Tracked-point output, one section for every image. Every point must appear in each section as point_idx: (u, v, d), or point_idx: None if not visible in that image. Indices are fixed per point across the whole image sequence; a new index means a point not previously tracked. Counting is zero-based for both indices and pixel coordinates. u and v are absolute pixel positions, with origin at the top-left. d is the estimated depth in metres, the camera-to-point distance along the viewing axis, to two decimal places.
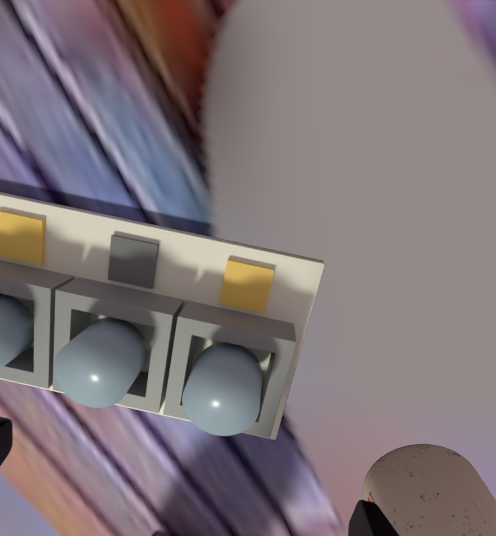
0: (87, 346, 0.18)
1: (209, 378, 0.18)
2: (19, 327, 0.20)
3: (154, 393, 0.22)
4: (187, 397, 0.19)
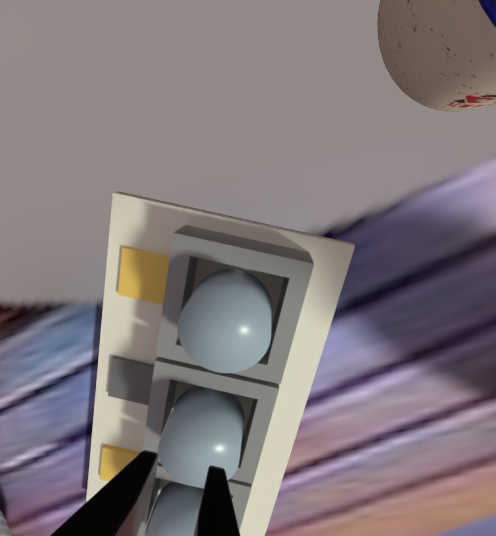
0: (164, 452, 0.18)
1: (190, 341, 0.16)
2: (177, 497, 0.21)
3: (252, 389, 0.19)
4: (218, 367, 0.16)
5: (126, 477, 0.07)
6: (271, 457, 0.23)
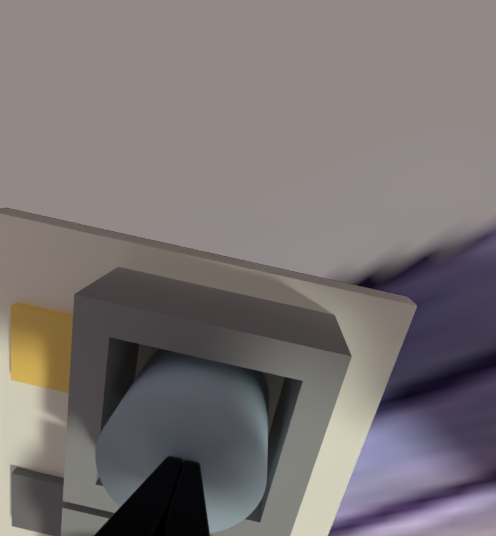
0: None
1: (120, 483, 0.09)
2: None
3: None
4: None
5: (154, 483, 0.07)
6: None
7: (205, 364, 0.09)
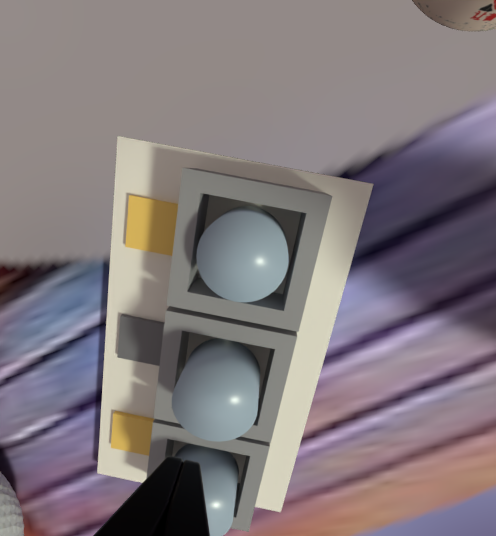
0: (178, 403, 0.17)
1: (209, 270, 0.16)
2: (192, 458, 0.20)
3: (268, 338, 0.18)
4: (236, 296, 0.16)
5: (154, 484, 0.07)
6: (288, 419, 0.22)
7: (252, 209, 0.17)
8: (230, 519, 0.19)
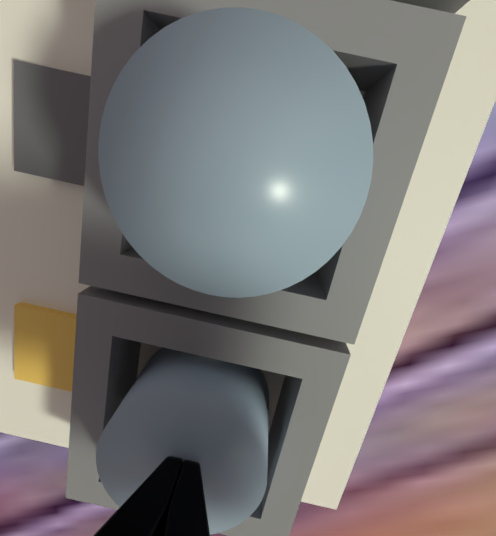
0: (119, 165, 0.05)
1: None
2: (178, 359, 0.10)
3: (383, 27, 0.07)
4: None
5: (154, 483, 0.07)
6: (372, 319, 0.11)
7: None
8: (260, 486, 0.08)
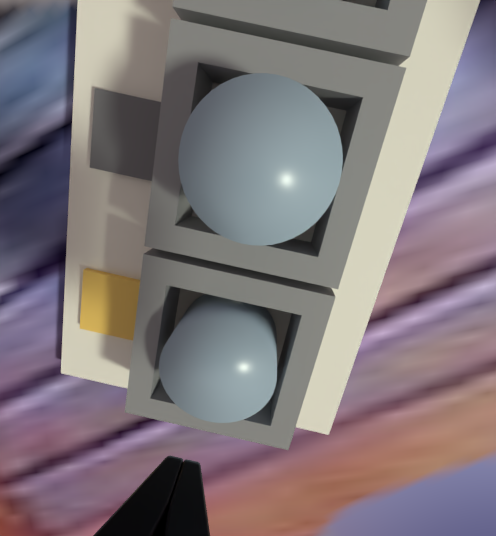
0: (191, 162, 0.09)
1: None
2: (212, 301, 0.13)
3: (353, 74, 0.10)
4: None
5: (154, 483, 0.07)
6: (354, 279, 0.14)
7: None
8: (272, 383, 0.12)
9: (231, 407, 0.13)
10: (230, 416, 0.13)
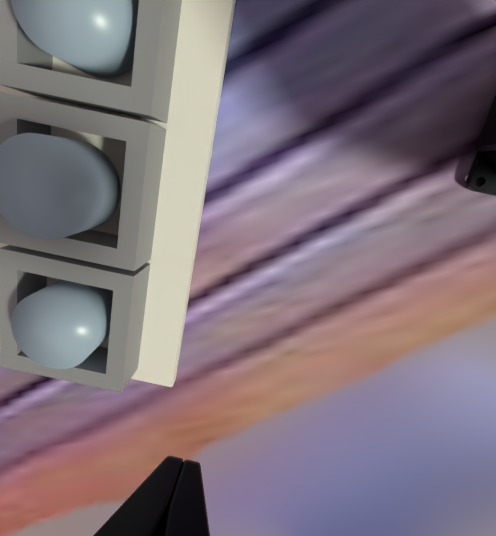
0: None
1: (26, 14, 0.13)
2: (58, 282, 0.19)
3: (117, 126, 0.15)
4: (63, 50, 0.14)
5: (154, 483, 0.07)
6: (170, 266, 0.20)
7: None
8: (90, 338, 0.17)
9: (66, 357, 0.18)
10: (66, 364, 0.18)
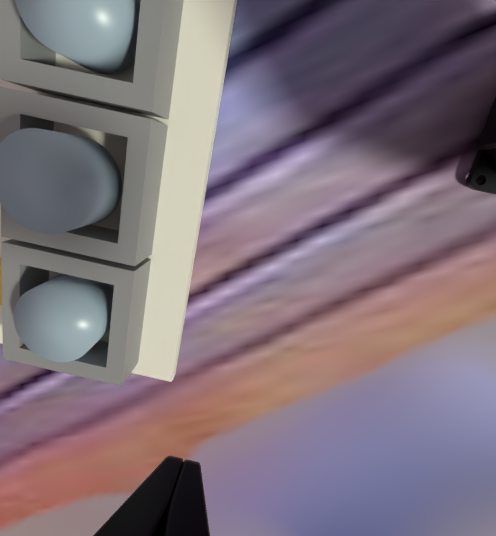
0: (0, 181, 0.14)
1: (30, 10, 0.14)
2: (59, 276, 0.19)
3: (119, 122, 0.15)
4: (65, 46, 0.14)
5: (154, 483, 0.07)
6: (171, 261, 0.20)
7: None
8: (91, 331, 0.18)
9: (67, 350, 0.18)
10: (67, 357, 0.18)
